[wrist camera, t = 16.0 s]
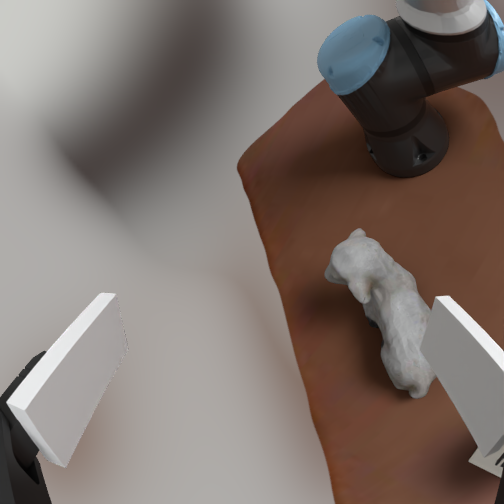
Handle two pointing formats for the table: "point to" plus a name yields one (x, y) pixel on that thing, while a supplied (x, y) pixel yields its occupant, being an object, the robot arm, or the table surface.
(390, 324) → the sculpture
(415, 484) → the table surface
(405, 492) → the table surface
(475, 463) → the tile
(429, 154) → the robot arm
